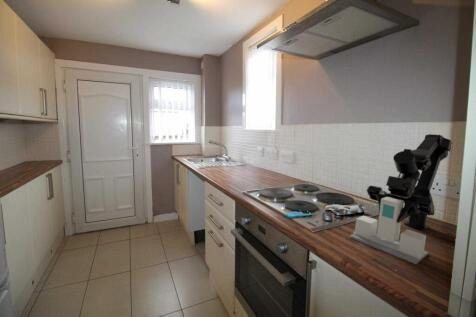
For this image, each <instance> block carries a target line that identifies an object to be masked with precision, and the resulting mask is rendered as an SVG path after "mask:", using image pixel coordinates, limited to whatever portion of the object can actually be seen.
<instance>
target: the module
mask: <svg viewBox="0 0 476 317" xmlns="http://www.w3.org/2000/svg"><path fill="white" fill-rule="evenodd" d="M404 205H405V203H404V201H403V200H399V199H395V198H390V197H385V198H382V199H381V205H380V213H379V212H378V223H377V231H376V233H377V236H378V237H380V238H383V239H386V240H389V241H391V242H394V241H398V240H400V235H401V225H402V221H401V222H399V223H397V219H398V216H399V214H400V213H401V211H402V209H403V207H404Z"/></svg>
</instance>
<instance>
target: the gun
mask: <svg viewBox="0 0 476 317" xmlns="http://www.w3.org/2000/svg"><path fill="white" fill-rule="evenodd" d="M358 205H359V204H356V205H355V204H354V205H342V204H329V205H326V206H325V209H324V211H325V210H334V209H345V210H349V211H357V210H358V209H359V206H358ZM361 206H362V205H361ZM348 208H350V209H348ZM362 208H363V210H364V212H366V213H368V212H369V208H367V207H364V206H362ZM345 212H346V211H345Z"/></svg>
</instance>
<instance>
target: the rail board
mask: <svg viewBox="0 0 476 317" xmlns="http://www.w3.org/2000/svg"><path fill="white" fill-rule="evenodd" d="M378 221H379V219H375V218H373V217H370V216H366V215H362V216H359V217H357V218H355V228H354V232H353V233H352V234H350V235H349V238H350V239H352V240H355V241H358V242H360V243H363V244H365V245H367V246H369V247H372V248H375V249H376V250H379V251H382V252H385V253H387V254H390V255H391V256H394V257H397V258H398V259H402V260H404V261H406V262H409V263H412V264H415V265H417V264H418V263H420V262H421V261H422V260H423V259H424V258H426V257H427V255H428V254H429V251H426V250H425V246H426V240H427V235H426V234H423V233H419V232H418V231H417V232H416V231H413V230H410V229H406V230H404V231H402V232H400V236H399V240H396V241H394V242H391V241H389V240H386V239H383V238H380V237H378V236H377V230H378Z"/></svg>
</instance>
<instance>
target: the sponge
mask: <svg viewBox="0 0 476 317" xmlns="http://www.w3.org/2000/svg"><path fill="white" fill-rule="evenodd" d="M283 215H284V217H285V218H287V219H297V218H296V217H298V218H304V217H303V216H306V217H310V216H309V215H313V214H312V213H311V212H309V214H302V213H299V212H297V211H291V212H286V213H284V214H283Z"/></svg>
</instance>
